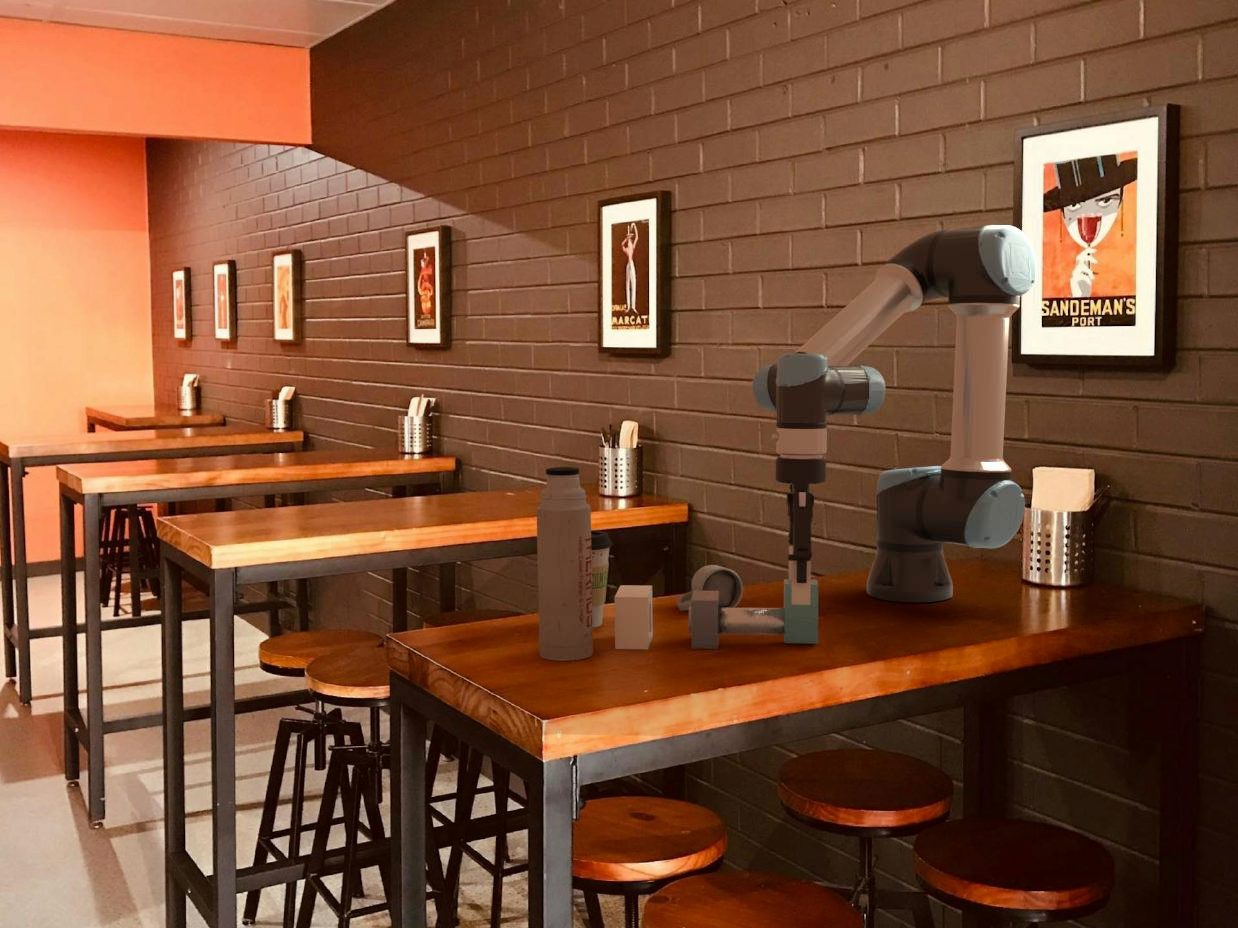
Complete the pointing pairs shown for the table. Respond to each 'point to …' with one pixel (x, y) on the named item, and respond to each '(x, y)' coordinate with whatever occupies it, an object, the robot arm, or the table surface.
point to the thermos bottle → (564, 568)
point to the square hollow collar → (704, 619)
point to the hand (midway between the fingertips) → (798, 595)
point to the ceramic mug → (715, 586)
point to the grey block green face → (774, 618)
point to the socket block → (633, 617)
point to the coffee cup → (599, 573)
